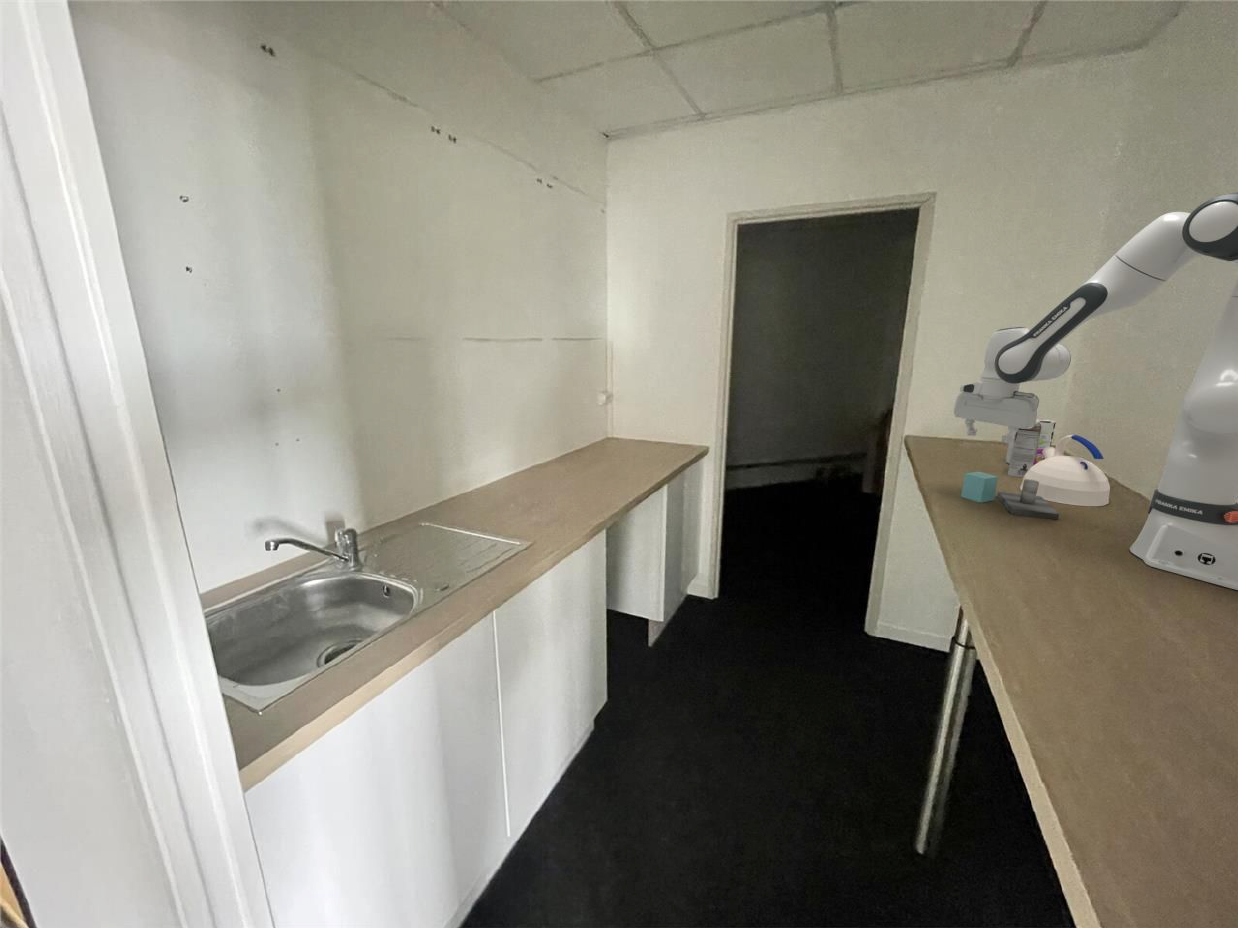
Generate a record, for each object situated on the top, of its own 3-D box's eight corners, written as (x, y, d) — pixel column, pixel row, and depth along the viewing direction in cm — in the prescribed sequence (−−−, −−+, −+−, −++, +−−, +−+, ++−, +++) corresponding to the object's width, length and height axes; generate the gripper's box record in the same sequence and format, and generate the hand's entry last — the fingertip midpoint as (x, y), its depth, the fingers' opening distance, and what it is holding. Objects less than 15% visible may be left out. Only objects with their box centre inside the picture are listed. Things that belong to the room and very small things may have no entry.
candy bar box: (1040, 464, 187) (1050, 419, 183) (1046, 467, 182) (1057, 421, 178) (1004, 461, 190) (1013, 417, 186) (1009, 465, 186) (1019, 419, 181)
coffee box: (1007, 469, 180) (1017, 423, 176) (1031, 472, 176) (1041, 426, 172) (1006, 475, 173) (1016, 427, 169) (1031, 478, 169) (1041, 430, 165)
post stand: (997, 496, 151) (1002, 471, 149) (1039, 501, 147) (1045, 475, 145) (1010, 513, 137) (1016, 486, 135) (1058, 519, 133) (1064, 491, 131)
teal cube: (993, 500, 148) (998, 476, 146) (980, 502, 146) (985, 478, 144) (973, 494, 153) (978, 471, 151) (961, 496, 151) (965, 473, 149)
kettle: (1073, 486, 162) (1086, 429, 157) (1129, 508, 142) (1146, 444, 138) (1003, 483, 164) (1015, 427, 159) (1049, 505, 144) (1064, 442, 139)
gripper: (1048, 393, 133) (1036, 446, 137) (969, 384, 151) (960, 431, 155) (1032, 394, 131) (1020, 448, 135) (954, 385, 149) (946, 432, 153)
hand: (988, 438), depth 145 cm, fingers open, 8 cm apart
